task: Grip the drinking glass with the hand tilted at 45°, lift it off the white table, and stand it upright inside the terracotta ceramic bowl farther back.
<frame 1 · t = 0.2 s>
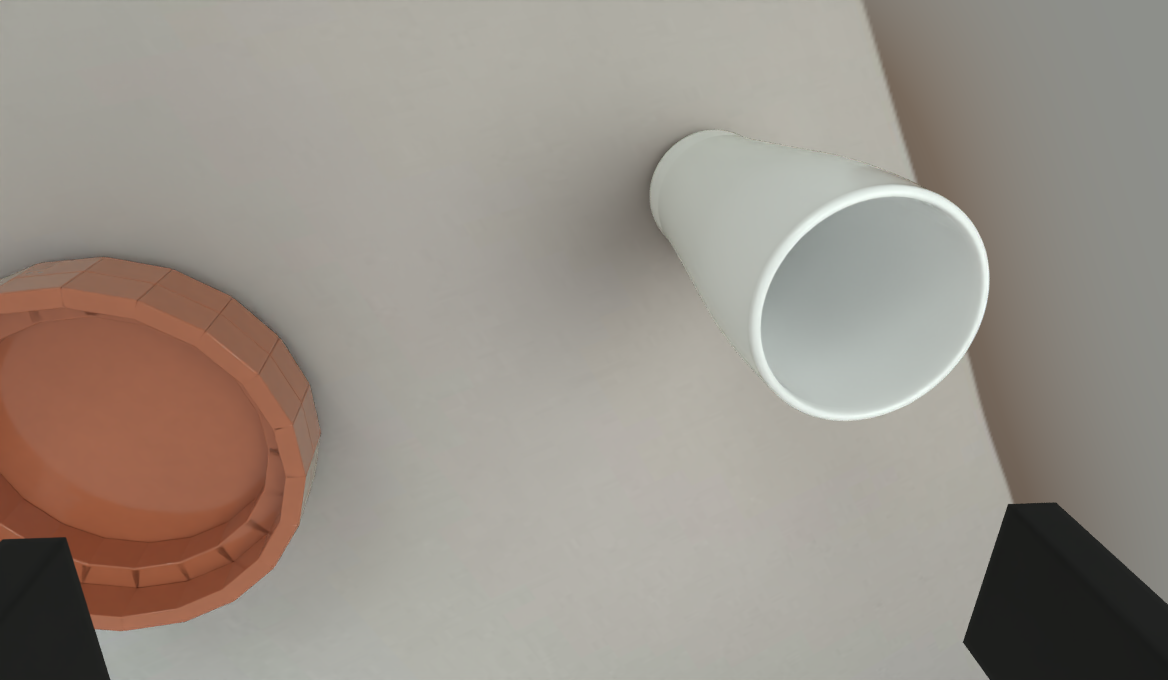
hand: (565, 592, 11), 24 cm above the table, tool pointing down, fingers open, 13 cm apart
drinking glass: (703, 188, 33), on the table
bowl: (139, 420, 34), on the table
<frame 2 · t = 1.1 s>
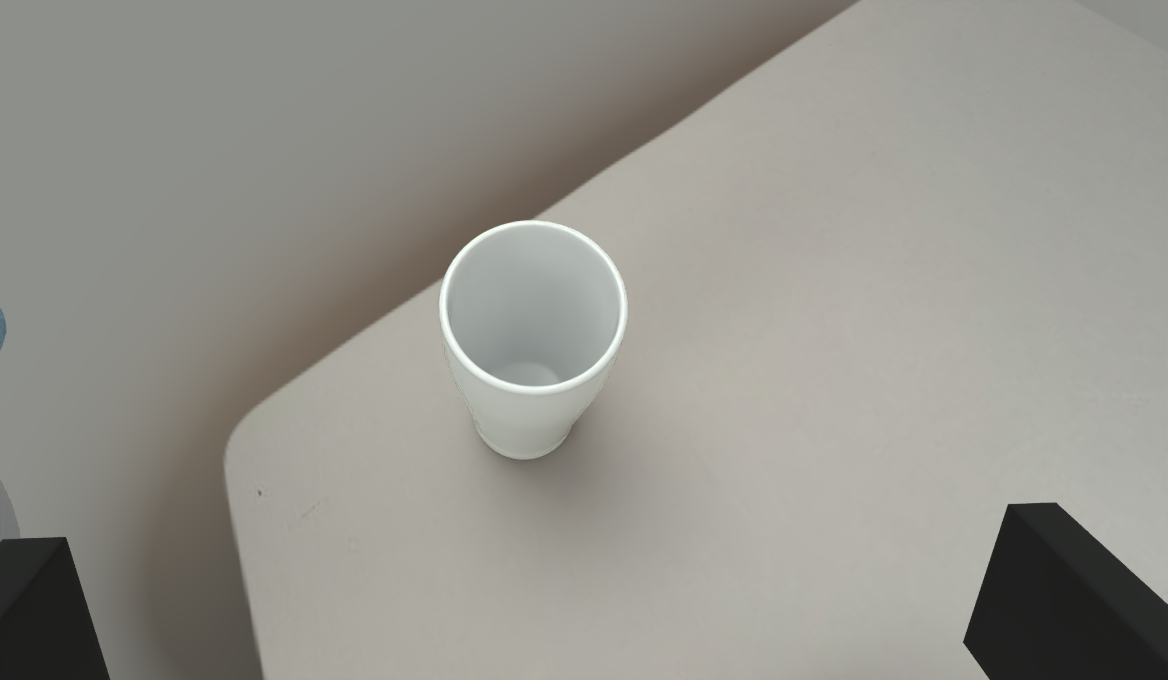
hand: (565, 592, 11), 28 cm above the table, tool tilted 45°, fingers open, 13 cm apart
drinking glass: (523, 413, 40), on the table
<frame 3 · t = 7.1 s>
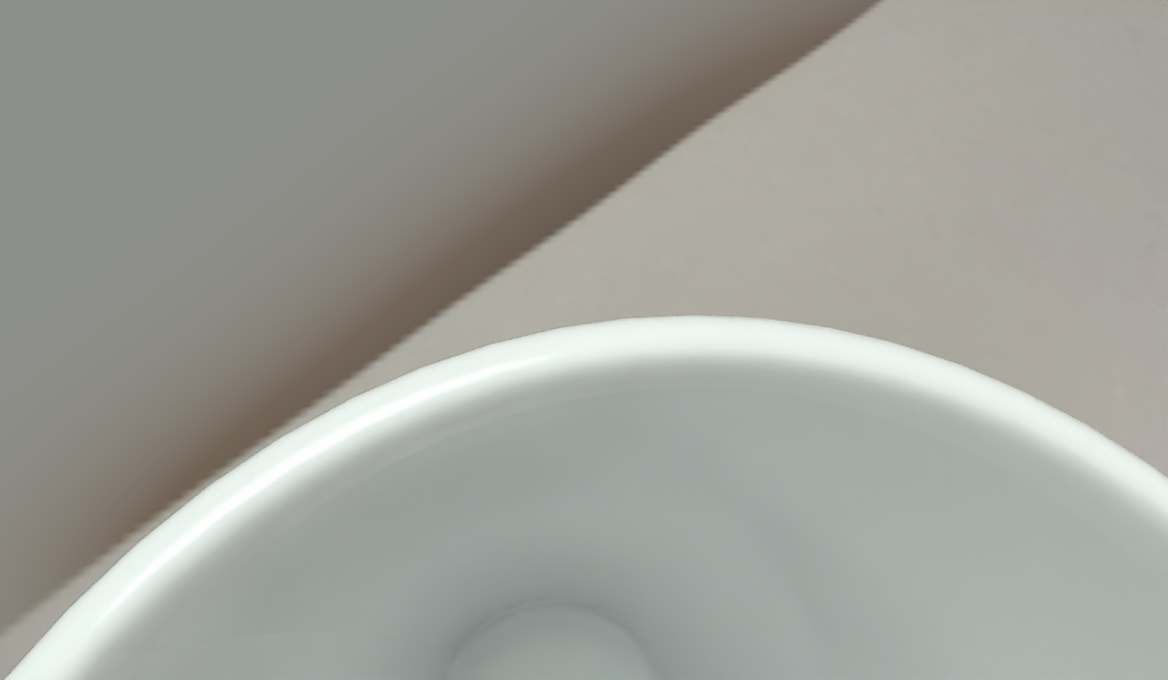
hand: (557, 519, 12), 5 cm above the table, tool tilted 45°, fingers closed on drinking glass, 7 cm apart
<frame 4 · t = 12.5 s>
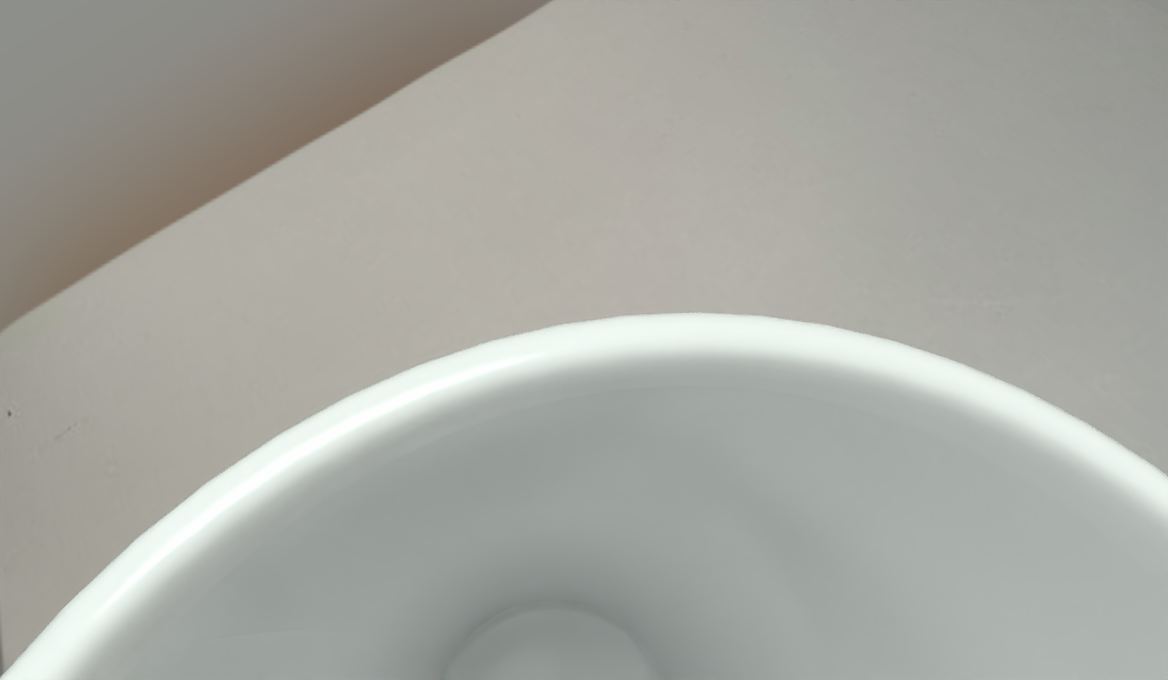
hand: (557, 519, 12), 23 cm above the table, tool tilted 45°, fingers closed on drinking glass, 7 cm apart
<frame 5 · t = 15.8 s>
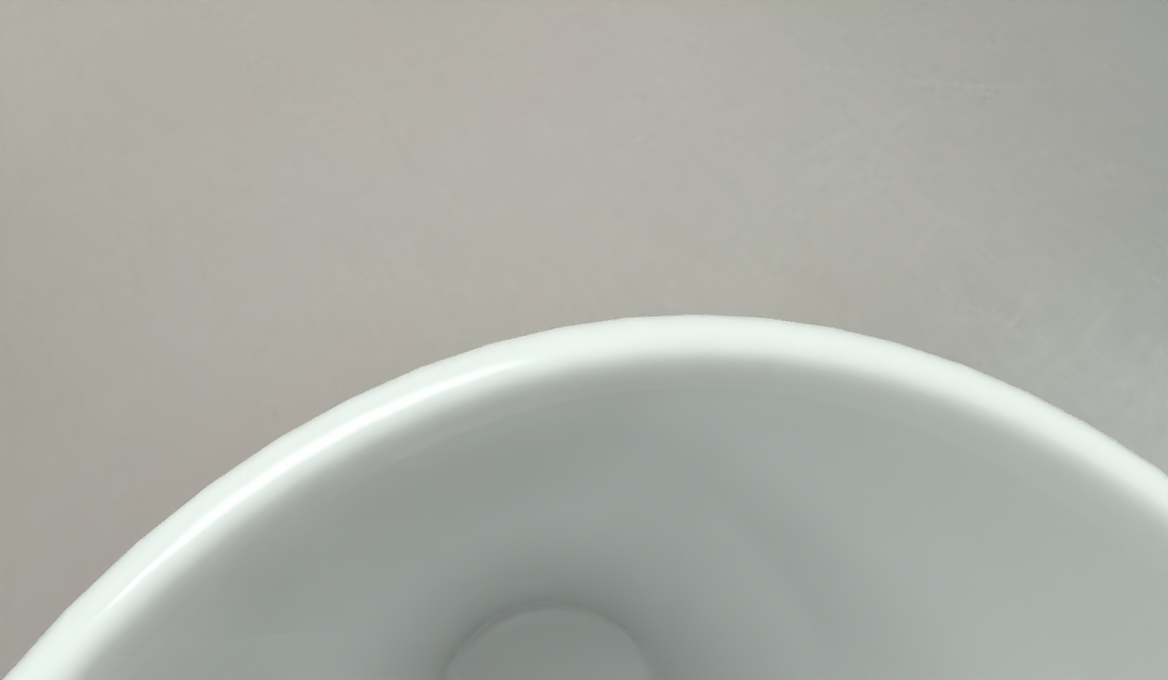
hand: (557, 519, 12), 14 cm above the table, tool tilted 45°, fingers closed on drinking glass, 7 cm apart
when the fingers open (6 cm above the table, at t = 18.3 s): drinking glass stays where it is, resting on bowl.
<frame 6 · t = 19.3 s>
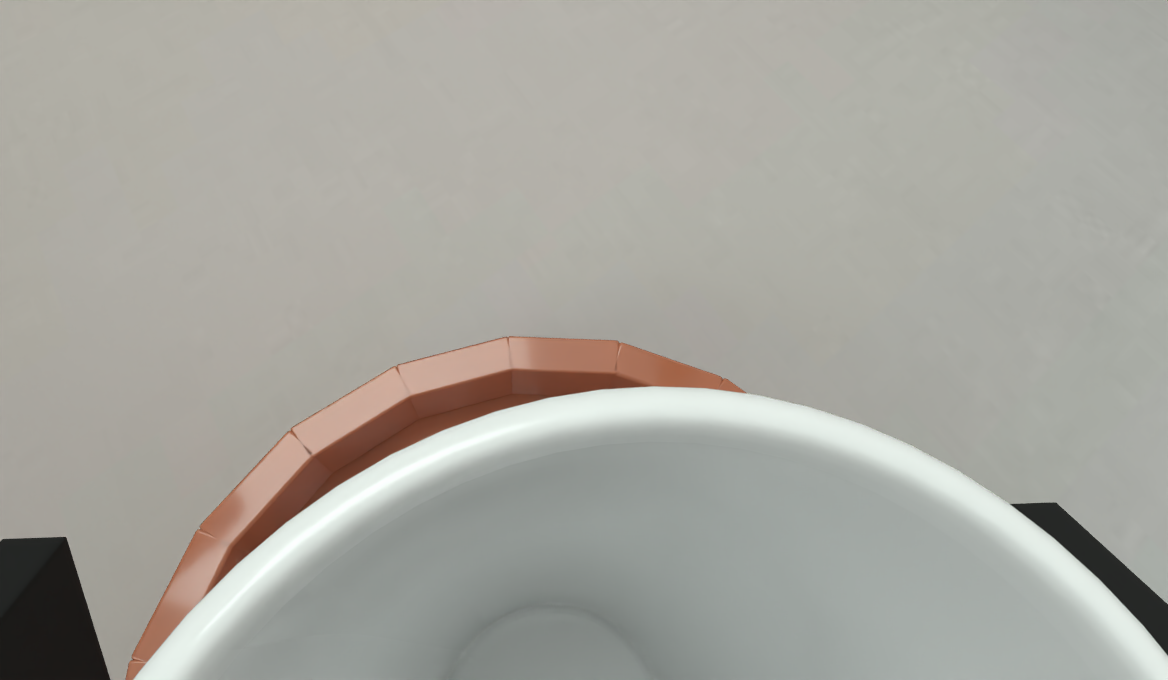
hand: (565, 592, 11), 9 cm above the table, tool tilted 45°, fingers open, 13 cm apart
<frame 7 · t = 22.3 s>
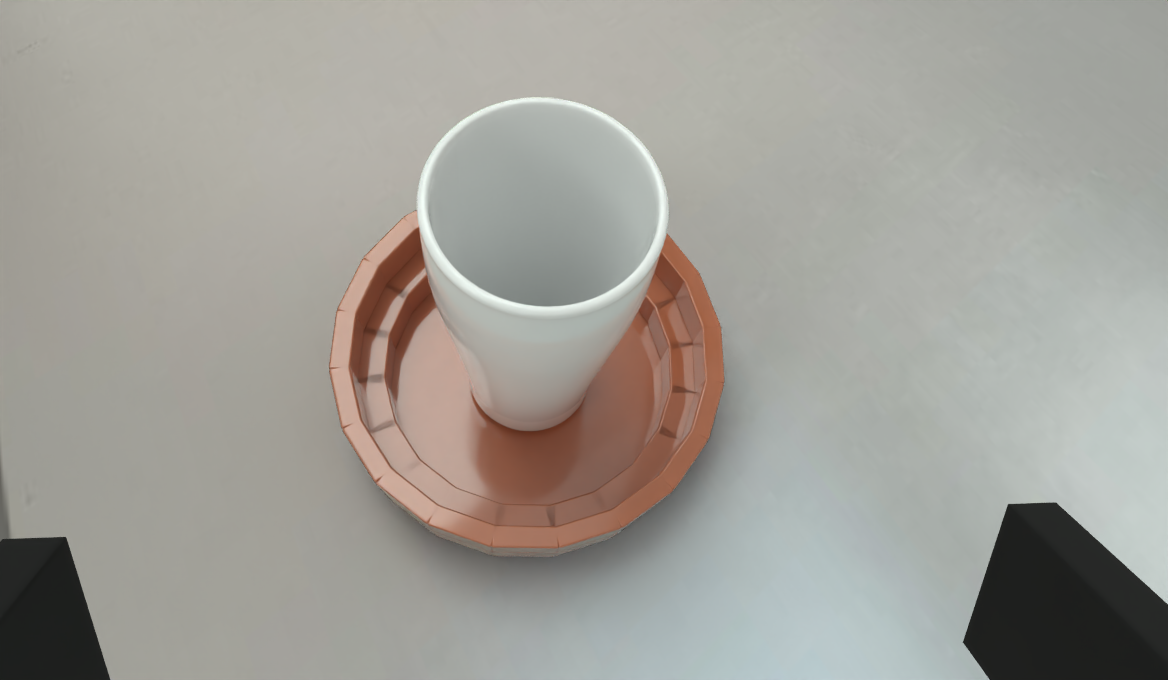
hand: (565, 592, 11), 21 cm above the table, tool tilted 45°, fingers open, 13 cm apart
drinking glass: (529, 377, 34), point 1 cm above the table, touching bowl
bowl: (529, 380, 34), on the table
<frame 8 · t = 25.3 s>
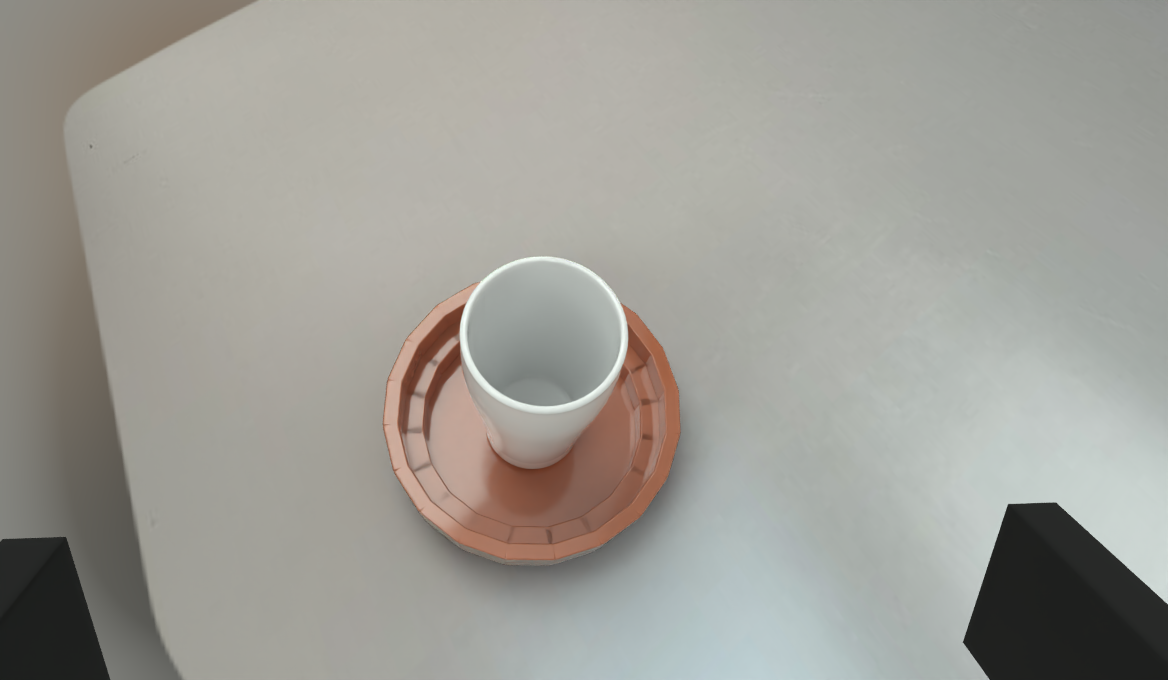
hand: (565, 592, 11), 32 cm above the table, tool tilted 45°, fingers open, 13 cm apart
drinking glass: (532, 426, 43), point 1 cm above the table, touching bowl
bowl: (532, 427, 44), on the table
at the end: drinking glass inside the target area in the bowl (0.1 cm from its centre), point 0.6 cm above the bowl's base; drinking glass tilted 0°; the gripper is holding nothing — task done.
